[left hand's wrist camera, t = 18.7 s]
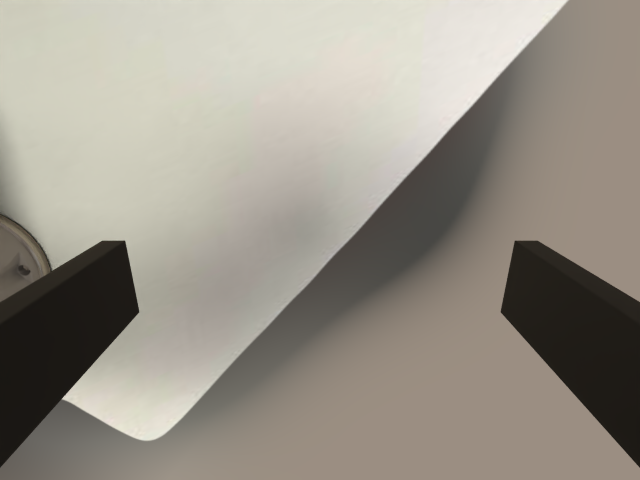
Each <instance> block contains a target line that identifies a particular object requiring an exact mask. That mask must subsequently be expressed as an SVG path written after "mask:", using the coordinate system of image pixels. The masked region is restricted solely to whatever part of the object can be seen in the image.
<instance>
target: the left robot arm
mask: <svg viewBox="0 0 640 480" xmlns="http://www.w3.org/2000/svg"><path fill="white" fill-rule="evenodd" d="M138 313H139V308H138V303H137V298H136V293H135V288H134V283H133V278H132V273H131V268H130V263H129V258H128V253H127V248H126V243H125V241H101V242H100V243H98V244H96V245H95V246H93V247H91V248H90V249H88V250H86V251H85V252H83V253H81V254H80V255H78V256H76V257H75V258H73V259H71V260H70V261H68V262H66V263H65V264H63V265H61V266H60V267H58V268H56V269H55V270H53V271H50V267H49V264H48V261H47V259H46V257H45V255H44V253H43V251H42V250H41V248H40V247H39V245H38V244H37V243H36V241H35V240H34V239H33V238H32V237H31V236H30V235H29V234H28V233H27V232H26V231H25V230H24V229H23V228H21V227H20V226H19V225H17V224H16V223H14V222H13V221H11V220H10V219H8V218H6V217H4V216H2V215H0V467H1V466H2V465H3V464H4V463H5V462H6V461H7V459H8V458H9V457H10V456H11V455H12V454H13V453H14V452H15V450H16V449H17V448H18V447H19V446H20V445H21V444H22V443H23V442H24V440H25V439H26V438H27V437H28V436H29V435H30V434H31V433H32V431H33V430H34V429H35V428H36V427H37V426H38V425H39V424H40V423H41V421H42V420H43V419H44V418H45V417H46V416H47V415H48V414H49V412H50V411H51V410H52V409H53V408H54V407H55V406H56V405H57V403H58V402H59V401H60V400H61V399H62V398H63V397H64V396H65V395H66V393H67V392H68V391H69V390H70V389H71V388H72V387H73V386H74V385H75V383H76V382H77V381H78V380H79V379H80V378H81V377H82V376H83V374H84V373H85V372H86V371H87V370H88V369H89V368H90V367H91V366H92V364H93V363H94V362H95V361H96V360H97V359H98V358H99V357H100V355H101V354H102V353H103V352H104V351H105V350H106V349H107V348H108V347H109V345H110V344H111V343H112V342H113V341H114V340H115V339H116V338H117V336H118V335H119V334H120V333H121V332H122V331H123V330H124V329H125V328H126V326H127V325H128V324H129V323H130V322H131V321H132V320H133V319H134V317H135V316H136V315H137V314H138ZM501 313H502V314H503V315H504V316H505V317H506V319H507V320H508V321H509V322H510V323H511V324H512V325H513V326H514V327H515V329H516V330H517V331H518V332H519V333H520V334H521V335H522V336H523V338H524V339H525V340H526V341H527V342H528V343H529V344H530V345H531V347H532V348H533V349H534V350H535V351H536V352H537V353H538V354H539V355H540V357H541V358H542V359H543V360H544V361H545V362H546V363H547V364H548V366H549V367H550V368H551V369H552V370H553V371H554V372H555V373H556V374H557V376H558V377H559V378H560V379H561V380H562V381H563V382H564V383H565V385H566V386H567V387H568V388H569V389H570V390H571V391H572V392H573V393H574V395H575V396H576V397H577V398H578V399H579V400H580V401H581V402H582V404H583V405H584V406H585V407H586V408H587V409H588V410H589V411H590V412H591V414H592V415H593V416H594V417H595V418H596V419H597V420H598V421H599V423H600V424H601V425H602V426H603V427H604V428H605V429H606V430H607V431H608V433H609V434H610V435H611V436H612V437H613V438H614V439H615V440H616V442H617V443H618V444H619V445H620V446H621V447H622V448H623V449H624V450H625V452H626V453H627V454H628V455H629V456H630V457H631V458H632V459H633V461H634V462H635V463H636V464H637V465H638V466H639V467H640V302H639V301H637V300H635V299H634V298H632V297H630V296H629V295H627V294H625V293H624V292H622V291H620V290H619V289H617V288H615V287H614V286H612V285H610V284H609V283H607V282H605V281H604V280H602V279H600V278H599V277H597V276H595V275H594V274H592V273H590V272H589V271H587V270H585V269H584V268H582V267H580V266H579V265H577V264H575V263H574V262H572V261H570V260H569V259H567V258H565V257H564V256H562V255H560V254H559V253H557V252H555V251H554V250H552V249H550V248H549V247H547V246H545V245H544V244H542V243H540V242H539V241H515V243H514V248H513V253H512V258H511V263H510V268H509V273H508V278H507V283H506V288H505V293H504V298H503V303H502V308H501Z"/></svg>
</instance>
